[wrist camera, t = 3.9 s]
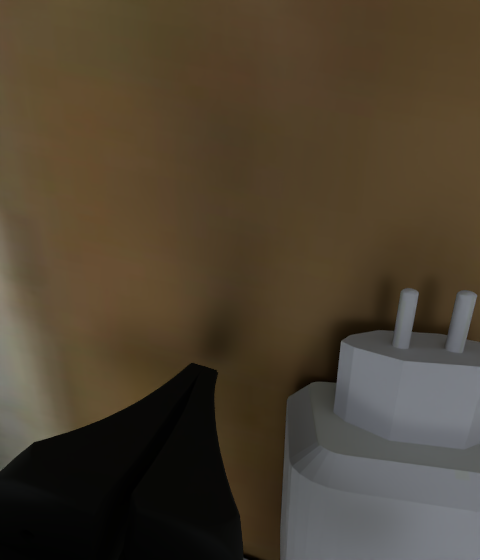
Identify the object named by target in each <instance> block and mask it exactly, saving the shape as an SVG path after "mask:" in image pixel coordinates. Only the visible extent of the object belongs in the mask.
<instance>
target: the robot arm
mask: <svg viewBox="0 0 480 560" xmlns="http://www.w3.org/2000/svg"><path fill="white" fill-rule="evenodd" d="M217 375H218V372H217V370H214V369H211V368H208V367H205V366H201V365H198V364H195V363H191V364H189V365H188V366H187V367H186V368H185V369H183V370H182V371H181V372H180V373H179V374H177V375H176V376H175V377H174V378H172V379H171V380H170V381H168V382H167V383H166V384H164V385H163V386H161V387H160V388H159V389H157V390H155V391H154V392H152V393H151V394H149V395H148V396H146V397H145V398H143V399H141V400H140V401H138V402H136V403H135V404H133V405H131V406H129V407H127V408H125V409H123V410H121V411H119V412H117V413H115V414H113V415H111V416H109V417H107V418H104V419H102V420H100V421H97V422H95V423H92V424H90V425H87V426H85V427H82V428H79V429H76V430H73V431H70V432H68V433H64V434H61V435H58V436H54V437H51V438H48V439H44V440H41V441H37V442H34V443H33V444H31V445H30V446H29V447H28V448H26V449H25V450H24V451H23V452H21V453H20V454H19V455H18V456H17V457H16V458H14V459H13V460H12V461H11V462H10V463H9V464H8V465H7V466H6V467H5V468H4V469H2V470H1V471H0V560H249V559H246V558H243V542H242V531H241V522H240V514H239V512H238V509H237V506H236V504H235V501H234V498H233V495H232V492H231V489H230V486H229V483H228V479H227V476H226V473H225V469H224V465H223V461H222V457H221V453H220V447H219V442H218V436H217V430H216V421H215V406H214V393H215V383H216V379H217Z"/></svg>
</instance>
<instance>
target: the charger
mask: <svg viewBox="0 0 480 560" xmlns="http://www.w3.org/2000/svg"><path fill="white" fill-rule="evenodd" d="M418 295H419V292H418V291H417V290H415V289H412V288H406V289H403V290H402V291H401V294H400V300H399V306H398V312H397V318H396V324H395V330H394V331H386V330H377V331H371V332H365V333H360V334H354V335H349V336H348V337H346V338H345V339H343V340H342V341H341V347H340V356H339V365H338V375H337V383H332V382H313V383H311V384H309V385H307V386H306V387H304V388H302V389H301V390H299V391H297V392H296V393H294V394H292V395H291V396H289V397H288V399H287V411H286V431H285V450H284V469H283V488H282V507H281V526H280V560H480V342H477V341H472V340H467V339H466V338H467V334H468V330H469V326H470V322H471V318H472V314H473V310H474V306H475V302H476V298H477V295H476V294H475V293H474V292H472V291H468V290H462V291H459V292H458V293H457V295H456V300H455V304H454V309H453V313H452V317H451V322H450V326H449V331H448V335H443V334H435V333H418V332H412V328H413V322H414V317H415V311H416V306H417V301H418Z"/></svg>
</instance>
